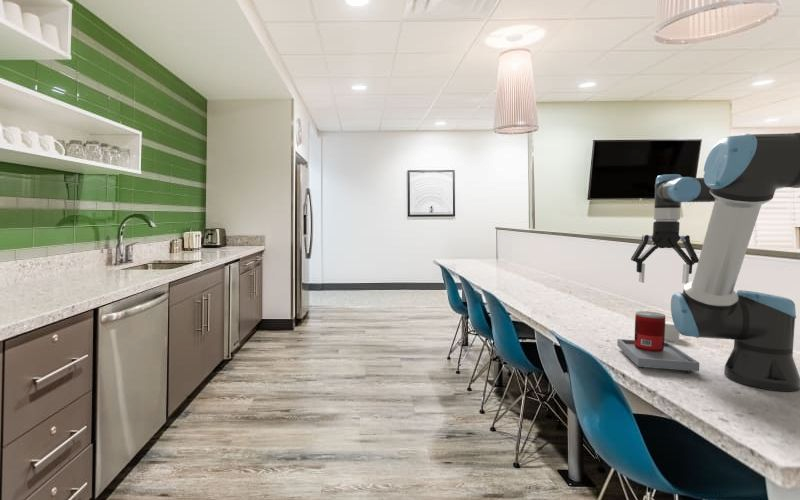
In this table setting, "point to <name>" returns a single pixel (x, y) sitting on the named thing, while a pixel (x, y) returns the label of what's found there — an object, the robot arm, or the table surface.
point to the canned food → (649, 331)
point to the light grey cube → (671, 332)
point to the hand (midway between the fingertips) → (663, 282)
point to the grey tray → (659, 357)
